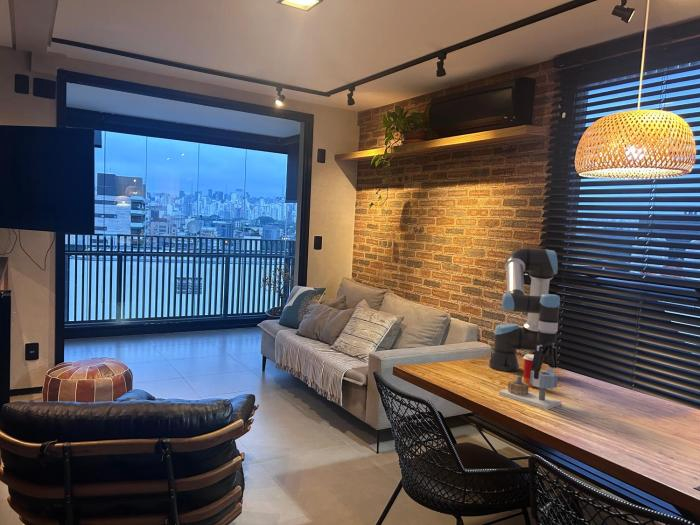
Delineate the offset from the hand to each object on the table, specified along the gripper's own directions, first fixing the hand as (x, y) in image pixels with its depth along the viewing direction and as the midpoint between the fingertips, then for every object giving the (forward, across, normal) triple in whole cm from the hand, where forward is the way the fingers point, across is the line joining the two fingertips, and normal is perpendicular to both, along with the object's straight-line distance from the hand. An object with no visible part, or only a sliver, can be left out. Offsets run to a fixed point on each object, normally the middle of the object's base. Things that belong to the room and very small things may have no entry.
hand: (543, 384), depth 212 cm
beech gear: (+6, 0, -11) cm, 13 cm away
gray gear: (0, 0, 0) cm, 0 cm away
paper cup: (+8, -20, -17) cm, 27 cm away
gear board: (+8, 0, -6) cm, 10 cm away
